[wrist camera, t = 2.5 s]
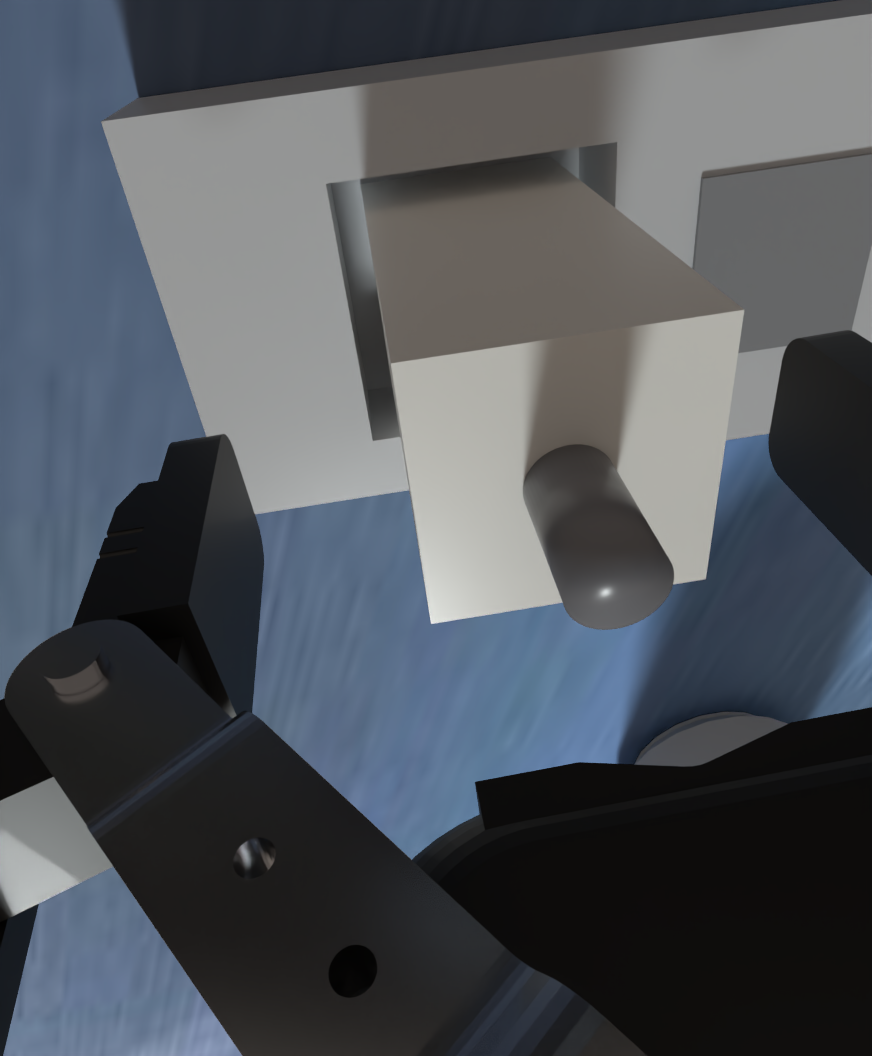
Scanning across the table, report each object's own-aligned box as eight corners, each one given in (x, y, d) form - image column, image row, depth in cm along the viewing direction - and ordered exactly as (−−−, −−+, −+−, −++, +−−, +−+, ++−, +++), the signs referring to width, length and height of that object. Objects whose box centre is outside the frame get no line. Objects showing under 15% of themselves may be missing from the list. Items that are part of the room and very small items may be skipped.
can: (833, 736, 30) (1072, 1093, 20) (692, 833, 33) (843, 1182, 24) (717, 670, 27) (937, 1057, 17) (574, 783, 30) (692, 1165, 20)
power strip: (1219, -53, 15) (1443, -61, 12) (1064, 324, 20) (1196, 385, 17) (138, 98, 15) (88, 129, 12) (244, 450, 19) (230, 538, 16)
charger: (550, 156, 16) (843, 387, 7) (553, 338, 18) (772, 684, 9) (359, 184, 15) (406, 455, 7) (388, 363, 18) (450, 738, 9)
